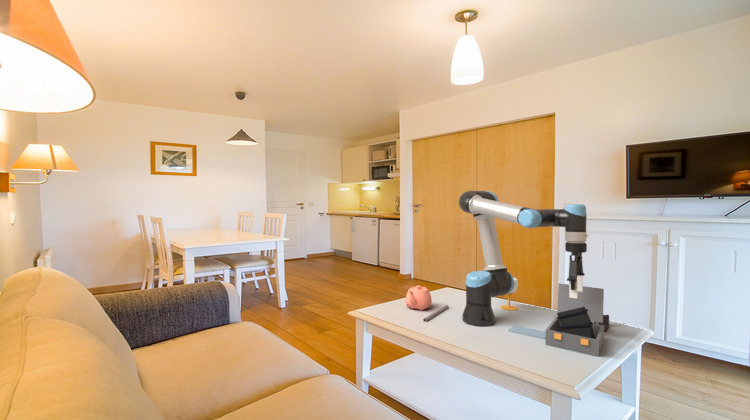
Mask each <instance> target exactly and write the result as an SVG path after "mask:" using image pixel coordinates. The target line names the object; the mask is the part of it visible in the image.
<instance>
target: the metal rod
mask: <svg viewBox="0 0 750 420" xmlns="http://www.w3.org/2000/svg"><path fill="white" fill-rule="evenodd" d="M449 308H450V306H449V305H448V304H445V305H443V306H442V307H441V308H439V309H437V310H435V311H433V312H432V313H430V314H428V315H427V316H425V317H424V318H423V320H422V321H423V322H425V323H427V322H428V321H430V320H432V319H434V318H435V317H436V316H439V315H440V314H442V313H443V312H444V311H446V310H448V309H449Z"/></svg>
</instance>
